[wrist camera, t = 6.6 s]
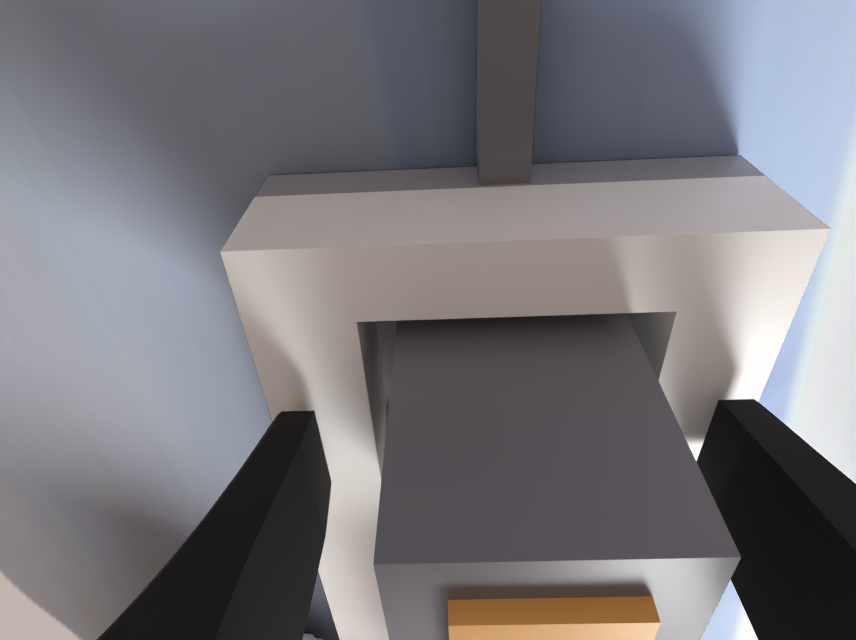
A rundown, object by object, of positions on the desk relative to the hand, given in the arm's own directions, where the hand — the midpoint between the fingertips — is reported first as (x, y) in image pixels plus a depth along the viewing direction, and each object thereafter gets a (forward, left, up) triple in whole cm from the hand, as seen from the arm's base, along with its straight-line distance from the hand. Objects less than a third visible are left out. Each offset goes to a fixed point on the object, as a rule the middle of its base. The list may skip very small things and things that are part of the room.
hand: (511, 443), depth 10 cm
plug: (0, 0, -2) cm, 2 cm away
